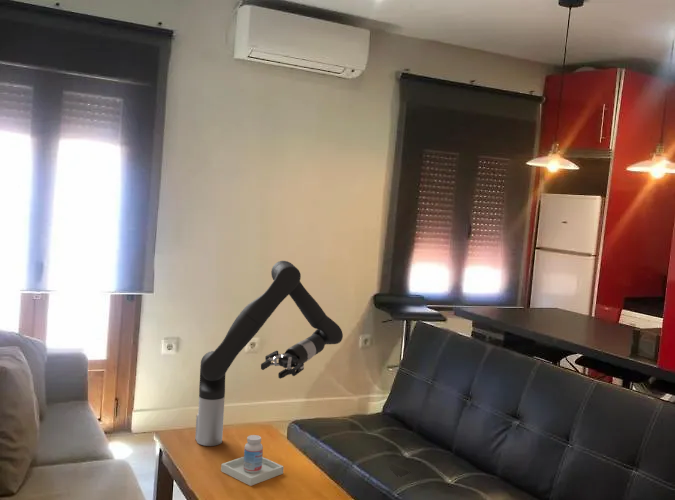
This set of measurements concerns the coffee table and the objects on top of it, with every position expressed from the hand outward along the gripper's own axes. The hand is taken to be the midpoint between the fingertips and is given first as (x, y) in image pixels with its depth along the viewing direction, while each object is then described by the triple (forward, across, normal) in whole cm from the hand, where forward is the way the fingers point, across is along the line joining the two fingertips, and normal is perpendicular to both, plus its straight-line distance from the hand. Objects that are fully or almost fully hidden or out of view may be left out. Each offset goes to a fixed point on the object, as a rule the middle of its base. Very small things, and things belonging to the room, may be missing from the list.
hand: (270, 371), depth 245 cm
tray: (+22, +11, +24) cm, 34 cm away
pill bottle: (+21, +11, +23) cm, 33 cm away
